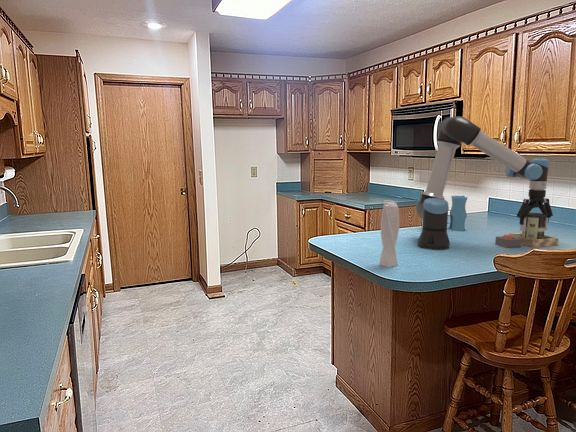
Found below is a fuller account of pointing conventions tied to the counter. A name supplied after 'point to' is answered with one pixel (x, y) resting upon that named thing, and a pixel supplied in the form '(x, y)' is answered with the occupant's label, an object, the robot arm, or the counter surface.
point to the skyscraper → (389, 233)
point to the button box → (507, 242)
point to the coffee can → (534, 226)
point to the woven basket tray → (537, 241)
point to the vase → (458, 213)
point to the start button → (508, 236)
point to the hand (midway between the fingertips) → (533, 230)
